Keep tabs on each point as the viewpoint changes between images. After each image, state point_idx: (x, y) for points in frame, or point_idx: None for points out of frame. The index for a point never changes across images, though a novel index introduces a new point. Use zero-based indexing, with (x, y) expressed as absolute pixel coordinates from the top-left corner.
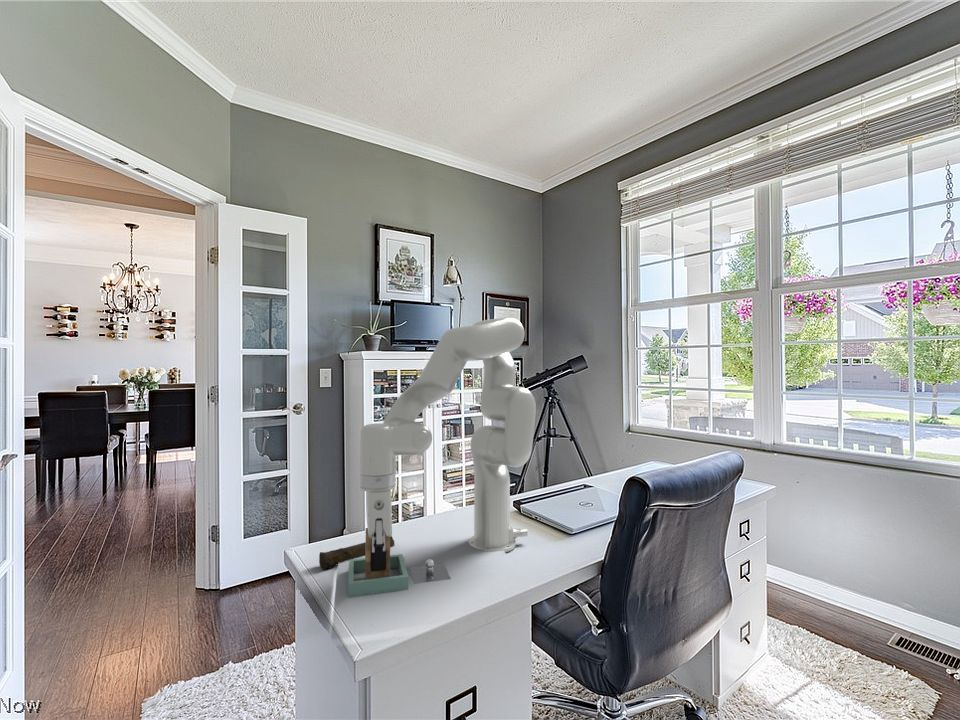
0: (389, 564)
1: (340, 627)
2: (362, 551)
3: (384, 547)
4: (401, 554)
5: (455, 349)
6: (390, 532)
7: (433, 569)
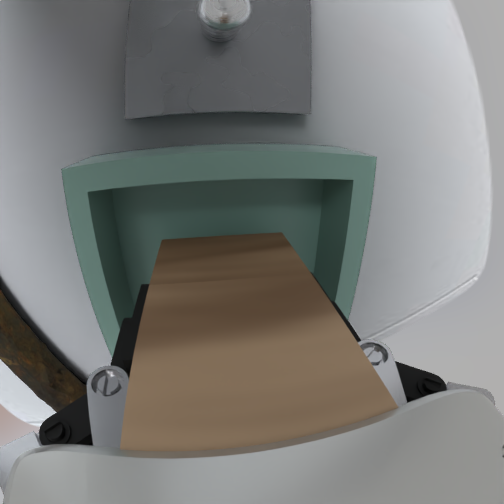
0: (299, 261)
1: (409, 324)
2: (14, 331)
3: (391, 365)
4: (68, 174)
5: None
6: (499, 412)
7: (184, 7)
